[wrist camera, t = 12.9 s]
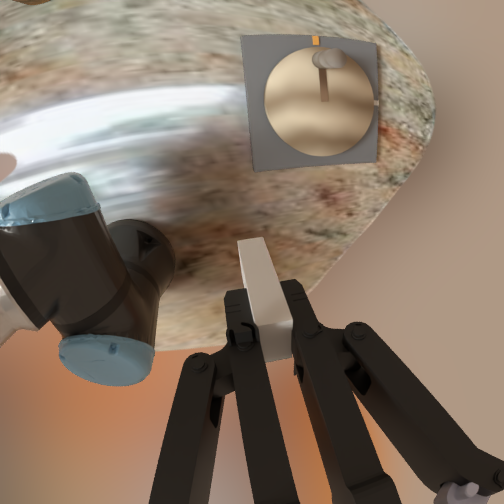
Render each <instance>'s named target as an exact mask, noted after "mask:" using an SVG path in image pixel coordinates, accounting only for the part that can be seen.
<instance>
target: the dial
mask: <svg viewBox="0 0 504 504" xmlns="http://www.w3.org/2000/svg"><path fill="white" fill-rule="evenodd" d="M264 107H265V112H266V115H267V119H268V121H269V123H270V125H271V127H272V128H273V130H274V131H275V132H276V134H277V135H278V136H279V137H280V138H281V139H282V140H283V141H284V142H286V143H287V144H288V145H290V146H291V147H293V148H294V149H296V150H298V151H300V152H302V153H305V154H308V155H313V156H331V155H336V154H339V153H342V152H344V151H346V150H348V149H349V148H351V147H352V146H354V145H355V144H356V143H357V142H358V141H359V140H360V139H361V138H362V137H363V136H364V134H365V133H366V131H367V129H368V128H369V125H370V123H371V120H372V116H373V111H374V96H373V91H372V87H371V84H370V82H369V80H368V77H367V76H366V74H365V72H364V71H363V70H362V68H361V67H360V66H359V65H358V64H357V63H356V62H355V61H354V60H353V59H351V58H350V57H349V56H347V55H346V54H345V53H344V52H343V51H342V50H341V49H338V48H332V49H331V48H326V47H310V48H305V49H301V50H298V51H295V52H293V53H291V54H289V55H287V56H286V57H284V58H283V59H282V60H281V61H280V62H278V63H277V64H276V66H275V67H274V68H273V70H272V71H271V73H270V75H269V77H268V79H267V82H266V85H265V89H264Z"/></svg>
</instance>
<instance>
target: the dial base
mask: <svg viewBox="0 0 504 504" xmlns="http://www.w3.org/2000/svg"><path fill="white" fill-rule="evenodd" d="M241 47H242V57H243V67H244V77H245V87H246V97H247V108H248V118H249V129H250V140H251V151H252V162H253V170H254V172H262V171H270V170H279V169H289V168H299V167H310V166H323V165H337V164H355V163H376V157H377V139H378V106H379V101H378V67H377V50H376V43H372V42H366V41H359V40H352V39H345V38H336V37H325V36H312V35H280V34H277V35H245V36H241ZM310 47H326V48H331V49H332V48H338V49H341V50H342V51H343V52H344V53H345V54H346V55H347V56H349V57H350V58H351V59H353V60H354V61H355V62H356V63H357V64H358V65H359V66H360V67H361V68H362V70H363V71H364V72H365V74H366V76H367V77H368V80H369V82H370V84H371V87H372V91H373V96H374V111H373V116H372V120H371V123H370V125H369V128H368V129H367V131H366V133H365V134H364V136H363V137H362V138H361V139H360V140H359V141H358V142H357V143H356V144H355V145H354V146H352V147H351V148H349V149H348V150H346V151H344V152H342V153H339V154H336V155H331V156H313V155H308V154H305V153H302V152H300V151H298V150H296V149H294V148H293V147H291V146H290V145H288V144H287V143H286V142H284V141H283V140H282V139H281V138H280V137H279V136H278V135H277V134H276V132H275V131H274V130H273V128H272V127H271V125H270V123H269V121H268V119H267V115H266V112H265V107H264V89H265V85H266V82H267V79H268V77H269V75H270V73H271V71H272V70H273V68H274V67H275V66H276V64H277V63H278V62H280V61H281V60H282V59H283V58H284V57H286V56H287V55H289V54H291V53H293V52H295V51H298V50H301V49H305V48H310Z"/></svg>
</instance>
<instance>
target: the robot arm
mask: <svg viewBox="0 0 504 504" xmlns="http://www.w3.org/2000/svg"><path fill="white" fill-rule="evenodd" d="M100 208H101V207H100V204H99V203H97V202H96V199H95V197H94V195H93V193H92V191H91V189H90V187H89V184H88V182H87V180H86V179H85V178H84V177H83V176H82V175H81V174H79V173H75V172H69V173H64V174H60V175H57V176H54V177H51V178H48V179H46V180H43V181H41V182H38V183H36V184H33V185H31V186H29V187H27V188H25V189H22V190H20V191H18V192H16V193H14V194H13V195H11V196H9V197H7V198H6V199H4V200H3V201H1V202H0V347H1V346H2V345H3V344H4V343H5V342H6V341H7V340H8V339H9V338H10V337H11V336H12V335H13V334H14V333H15V332H16V331H17V330H20V329H25V330H31V331H38V330H40V329H41V328H42V327H43V326H44V325H45V324H46V323H47V322H48V321H49V320H50V321H51V322H52V324H53V325H54V326H55V327H56V329H57V330H58V331H59V332H60V334H61V335H62V340H61V341H60V343H59V346H58V347H59V357H60V360H61V362H62V363H63V365H64V366H65V367H66V368H67V369H68V370H70V371H71V372H72V373H74V374H75V375H77V376H79V377H81V378H83V379H85V380H88V381H90V382H94V383H98V384H101V385H107V386H129V385H133V384H137V383H139V382H141V381H143V380H144V379H145V378H146V377H147V376H148V375H149V373H150V371H151V367H152V363H153V358H154V356H155V350H154V346H155V335H156V326H157V317H158V308H159V300H160V297H161V296H162V294H163V293H164V291H165V290H166V288H167V287H168V286H169V284H170V283H171V281H172V278H173V275H174V268H175V255H174V251H173V249H172V246H171V244H170V243H169V241H168V240H167V238H166V237H165V236H164V235H163V234H162V233H161V232H160V231H159V230H157V229H156V228H154V227H153V226H151V225H149V224H147V223H144V222H141V221H136V220H120V221H116V222H113V223H111V224H109V225H106V222H105V220H104V218H103V215H102V213H101V210H100ZM237 243H238V250H239V257H240V265H241V272H242V279H243V284H244V288H243V289H237V290H231V291H227V292H226V295H225V297H224V304H225V313H226V321H227V330H226V337H227V341H228V342H227V344H226V345H225V347H224V348H223V349H221V350H220V351H218V352H216V353H214V354H211V355H209V354H206V353H202V352H200V353H195V354H192V355H190V356H189V357H188V358H187V359H186V360H185V362H184V364H183V367H182V371H181V375H180V378H179V382H178V386H177V389H176V393H175V397H174V401H173V405H172V408H171V412H170V416H169V420H168V424H167V428H166V431H165V435H164V440H163V444H162V448H161V452H160V456H159V460H158V464H157V469H156V473H155V477H154V482H153V486H152V491H151V495H150V500H149V504H208V501H209V494H210V488H211V482H212V475H213V469H214V463H215V456H216V449H217V444H218V437H219V431H220V424H221V418H222V412H223V406H224V399H225V395H227V394H229V393H231V392H233V391H235V394H236V400H237V406H238V413H239V419H240V426H241V432H242V438H243V443H244V449H245V456H246V461H247V466H248V472H249V478H250V483H251V488H252V493H253V499H254V504H300V502H299V499H298V495H297V491H296V488H295V484H294V480H293V476H292V472H291V468H290V464H289V460H288V456H287V452H286V448H285V444H284V440H283V435H282V431H281V427H280V423H279V419H278V415H277V411H276V406H275V402H274V398H273V394H272V390H271V386H270V381H269V377H268V373H267V369H266V364H265V363H266V362H271V361H276V360H282V359H287V358H291V357H292V354H293V357H294V375H296V374H297V377H298V381H299V384H300V387H301V391H302V394H303V397H304V401H305V404H306V407H307V411H308V414H309V417H310V421H311V424H312V428H313V431H314V434H315V438H316V441H317V444H318V448H319V451H320V454H321V458H322V461H323V465H324V468H325V471H326V475H327V478H328V482H329V485H330V489H331V492H332V503H333V504H402V503H401V500H400V498H399V495H398V492H397V489H396V486H395V484H394V482H393V480H392V478H391V477H390V476H389V475H388V474H386V473H385V472H384V471H383V469H382V466H381V464H380V461H379V458H378V456H377V453H376V450H375V448H374V445H373V442H372V440H371V437H370V435H369V432H368V430H367V427H366V424H365V422H364V419H363V417H362V414H361V412H360V409H359V407H358V404H357V402H356V399H355V397H354V395H353V392H354V394H355V395H356V396H357V398H358V399H359V400H360V402H361V403H362V404H363V406H364V407H365V408H366V410H367V411H368V412H369V413H370V415H371V416H372V417H373V419H374V420H375V421H376V423H377V424H378V425H379V427H380V428H381V429H382V431H383V432H384V433H385V435H386V436H387V437H388V439H389V440H390V441H391V442H392V444H393V445H394V446H395V448H396V449H397V450H398V452H399V453H400V454H401V455H402V457H403V458H404V459H405V461H406V462H407V463H408V465H409V466H410V467H411V469H412V470H413V471H414V473H415V474H416V475H417V477H418V478H419V479H420V480H421V481H422V482H423V484H424V485H425V486H427V487H428V488H429V489H430V490H432V491H433V492H435V493H437V496H436V497H435V499H434V504H487V502H488V500H489V498H490V496H491V495H492V494H495V493H497V492H500V491H502V490H503V489H504V461H502V460H500V459H498V458H496V457H494V456H492V455H490V454H488V453H486V452H484V451H482V450H480V449H478V448H477V447H476V446H475V445H474V444H473V442H472V441H471V440H470V439H469V437H468V436H467V435H466V434H465V433H464V431H463V430H462V429H461V428H460V427H459V426H458V424H457V423H456V422H455V421H454V420H453V418H452V417H451V416H450V415H449V414H448V413H447V411H446V410H445V409H444V408H443V407H442V406H441V404H440V403H439V402H438V401H437V400H436V399H435V397H434V396H433V395H432V394H431V393H430V392H429V391H428V390H427V389H426V387H425V386H424V385H423V384H422V383H421V382H420V381H419V379H418V378H417V377H416V376H415V375H414V374H413V373H412V372H411V370H410V369H409V368H408V367H407V366H406V365H405V364H404V363H403V362H402V361H401V359H400V358H399V357H398V356H397V355H396V354H395V353H394V352H393V351H392V350H391V349H390V347H389V346H388V345H387V344H386V343H385V342H384V341H383V340H382V339H381V338H380V337H379V336H378V335H377V333H376V332H374V330H373V329H372V328H371V327H370V326H368V325H367V324H366V323H362V322H353V323H350V324H349V325H347V326H346V328H345V329H331V328H327V327H325V326H323V324H321V323H319V322H318V320H317V318H316V316H315V314H314V311H313V309H312V307H311V304H310V302H309V300H308V297H307V295H306V293H305V291H304V288H303V286H302V284H300V283H299V282H298V281H297V280H296V279H292V280H287V281H281V282H279V280H278V277H277V274H276V271H275V269H274V266H273V263H272V260H271V258H270V255H269V252H268V249H267V247H266V244H265V241H264V238H263V237H258V238H251V239H245V240H238V241H237ZM352 391H353V392H352Z"/></svg>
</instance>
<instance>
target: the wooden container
mask: <svg viewBox="0 0 504 504" xmlns="http://www.w3.org/2000/svg"><path fill="white" fill-rule="evenodd" d="M13 1H17V2H20V3H24V4H28V5H38V4H42V3H45V2H48V1H50V0H13Z"/></svg>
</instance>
